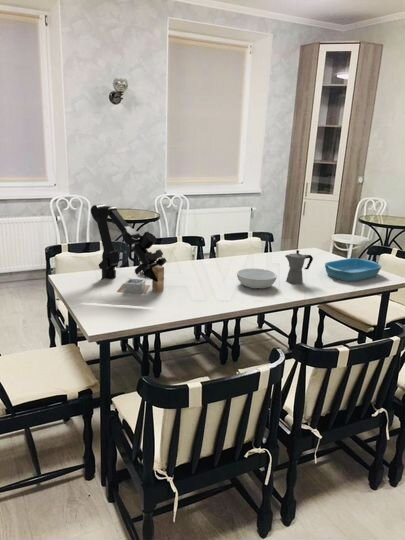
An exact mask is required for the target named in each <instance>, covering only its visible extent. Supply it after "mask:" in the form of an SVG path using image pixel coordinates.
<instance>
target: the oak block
mask: <svg viewBox="0 0 405 540" xmlns="http://www.w3.org/2000/svg"><path fill="white" fill-rule="evenodd" d="M153 272H154V274H155V276H156V278H157V280H158V281H157V282H156V281H154V280H152V279H151V281H152V283H151V286H152V287H151V288H152V290H151V291H152V292H154V293H161V292H162V291H164V290H165V289H164V288H165V287H164V286H165V285H164V283H165V267H164V265H163V266H159V265H158V266H155V267H153Z"/></svg>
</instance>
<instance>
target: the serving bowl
mask: <svg viewBox="0 0 405 540" xmlns="http://www.w3.org/2000/svg"><path fill="white" fill-rule="evenodd" d="M277 277H278V274H277V273H276V272H274V271H271V270H269V269H264V268H251V267H250V268H243V269H240V270H237V272H236V278H237V280H238V281H239V283H240V284H242V285H243V286H245V287H247V288H250V289H257V288H259V289H264V288H269V287H271V286H273V285H274V284H275V282H276V280H277Z"/></svg>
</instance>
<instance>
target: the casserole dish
mask: <svg viewBox="0 0 405 540" xmlns="http://www.w3.org/2000/svg"><path fill="white" fill-rule="evenodd" d="M324 268H325V271H326V274H327V275H328V276H330V277H332V278H335V279H338V280H340V281H344V282H358V281H362V280H366V279H369V278H373V277H377V275H378V274H379V272H380V270H381V269H382V265H381V264H380V263H377V262H376V261H372V260H369V259H363V258H359V257H358V258H357V257H354V258H353V257H351V258H344V259H339V260H338V259H337V260H333V261H327V262H325V263H324Z"/></svg>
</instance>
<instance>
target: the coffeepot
mask: <svg viewBox="0 0 405 540" xmlns="http://www.w3.org/2000/svg"><path fill="white" fill-rule="evenodd" d="M295 252H296V253H294V252H293V253H289V254H286V255H284V257H285V258H286V259H287V261H288V267H289V269H288V272H287V277H286V279H285V280H286V282H287V283H288V284H292V285H302V284H303V282H304V280H303V278H304V277H303V268H304V270H309V268H310V267H311V264H312V262H313V260H314V257H313V256H312V255H311V254H301V253H300V250H298V249H297V250H295ZM306 259H309V260H308V262H307V265H306V267H304V263H305V260H306Z"/></svg>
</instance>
